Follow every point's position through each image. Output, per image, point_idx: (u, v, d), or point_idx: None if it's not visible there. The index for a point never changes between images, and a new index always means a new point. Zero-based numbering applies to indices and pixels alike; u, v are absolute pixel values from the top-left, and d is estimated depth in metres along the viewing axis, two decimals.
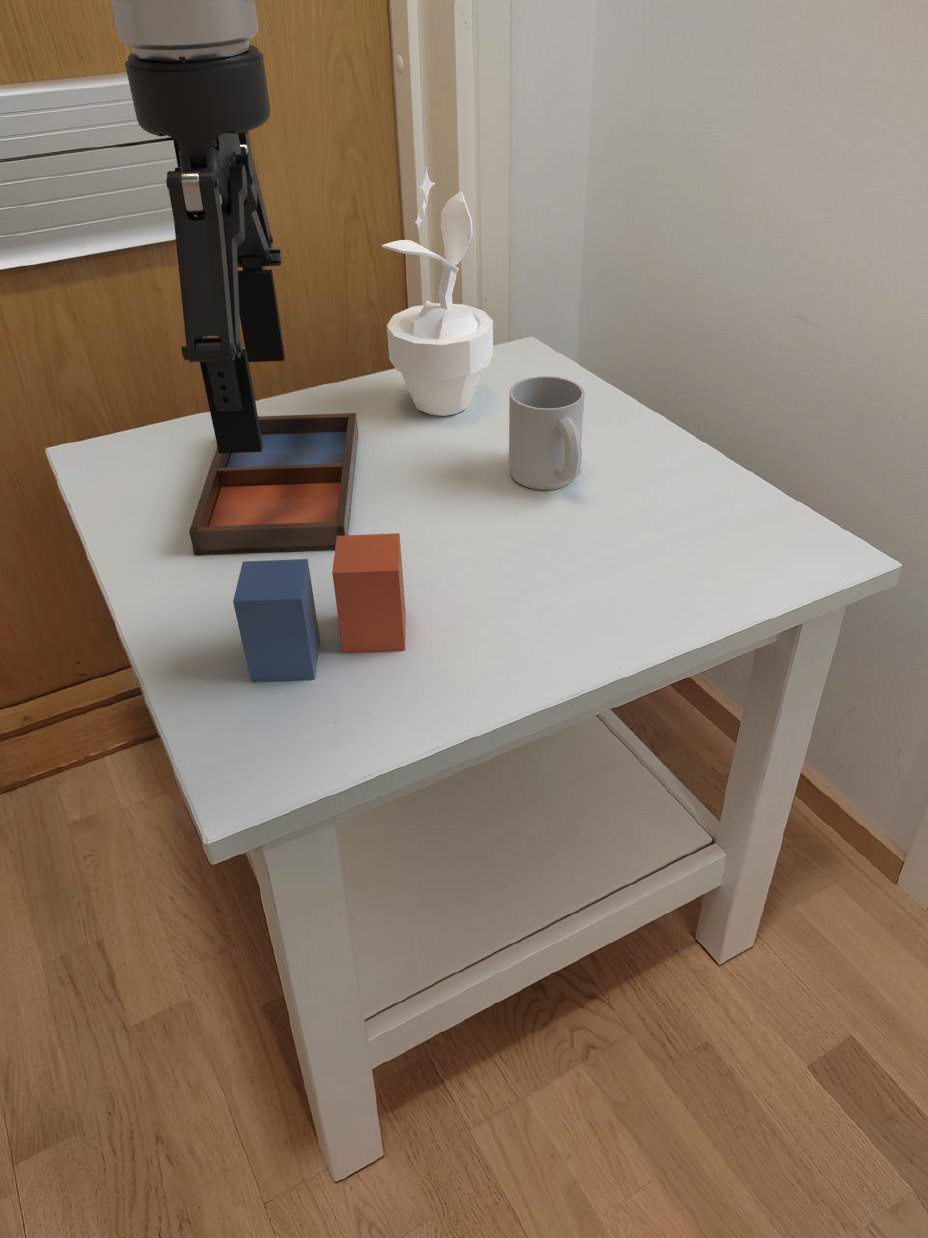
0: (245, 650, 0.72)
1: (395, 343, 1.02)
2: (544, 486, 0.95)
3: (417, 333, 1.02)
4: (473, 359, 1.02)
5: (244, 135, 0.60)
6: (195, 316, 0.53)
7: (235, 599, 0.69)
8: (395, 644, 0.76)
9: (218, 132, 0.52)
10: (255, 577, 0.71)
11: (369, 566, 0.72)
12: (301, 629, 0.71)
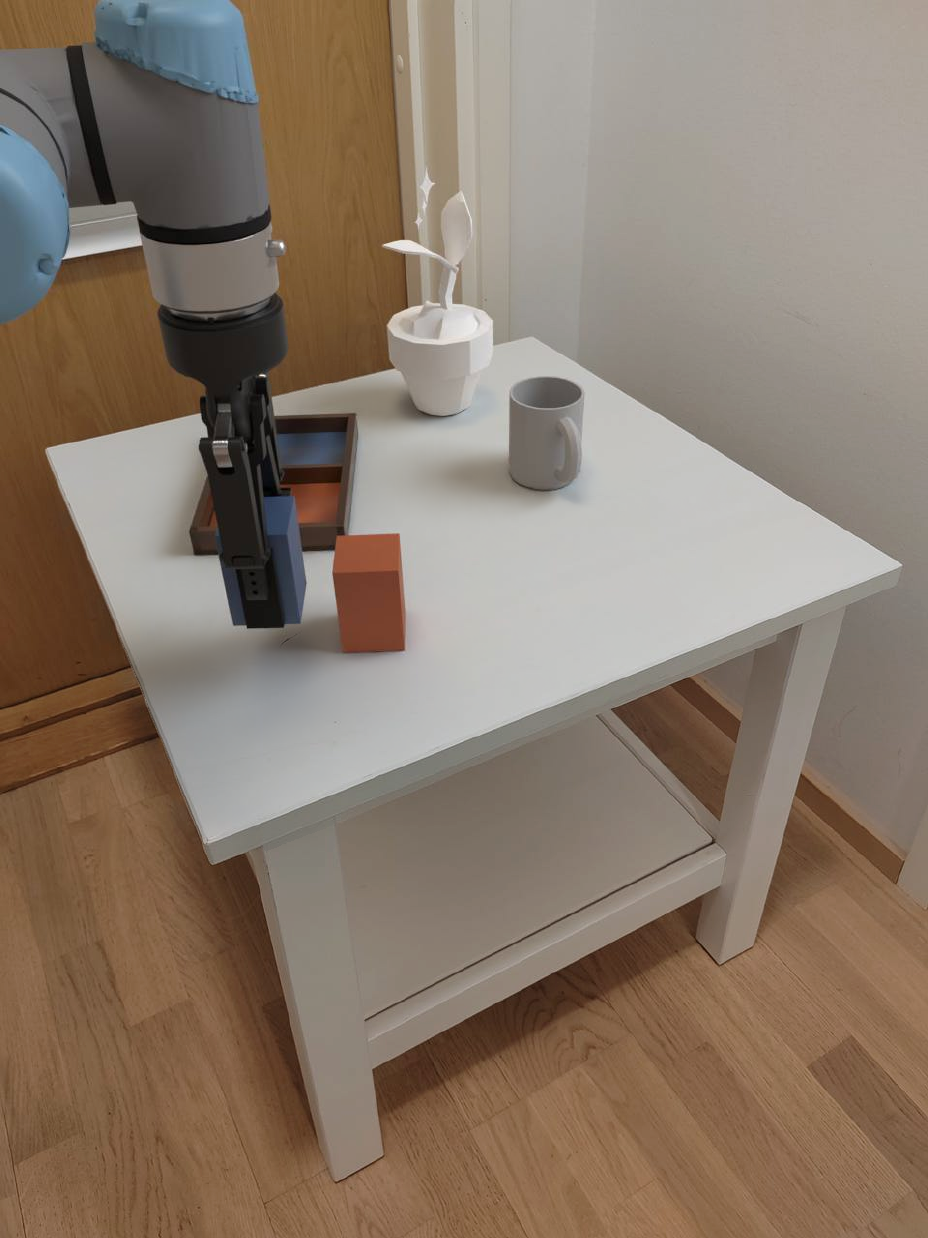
0: (227, 591, 0.68)
1: (395, 343, 1.02)
2: (544, 486, 0.95)
3: (417, 333, 1.02)
4: (473, 359, 1.02)
5: None
6: (231, 542, 0.61)
7: (217, 534, 0.66)
8: (395, 644, 0.76)
9: (241, 378, 0.57)
10: None
11: (369, 566, 0.72)
12: (286, 568, 0.67)
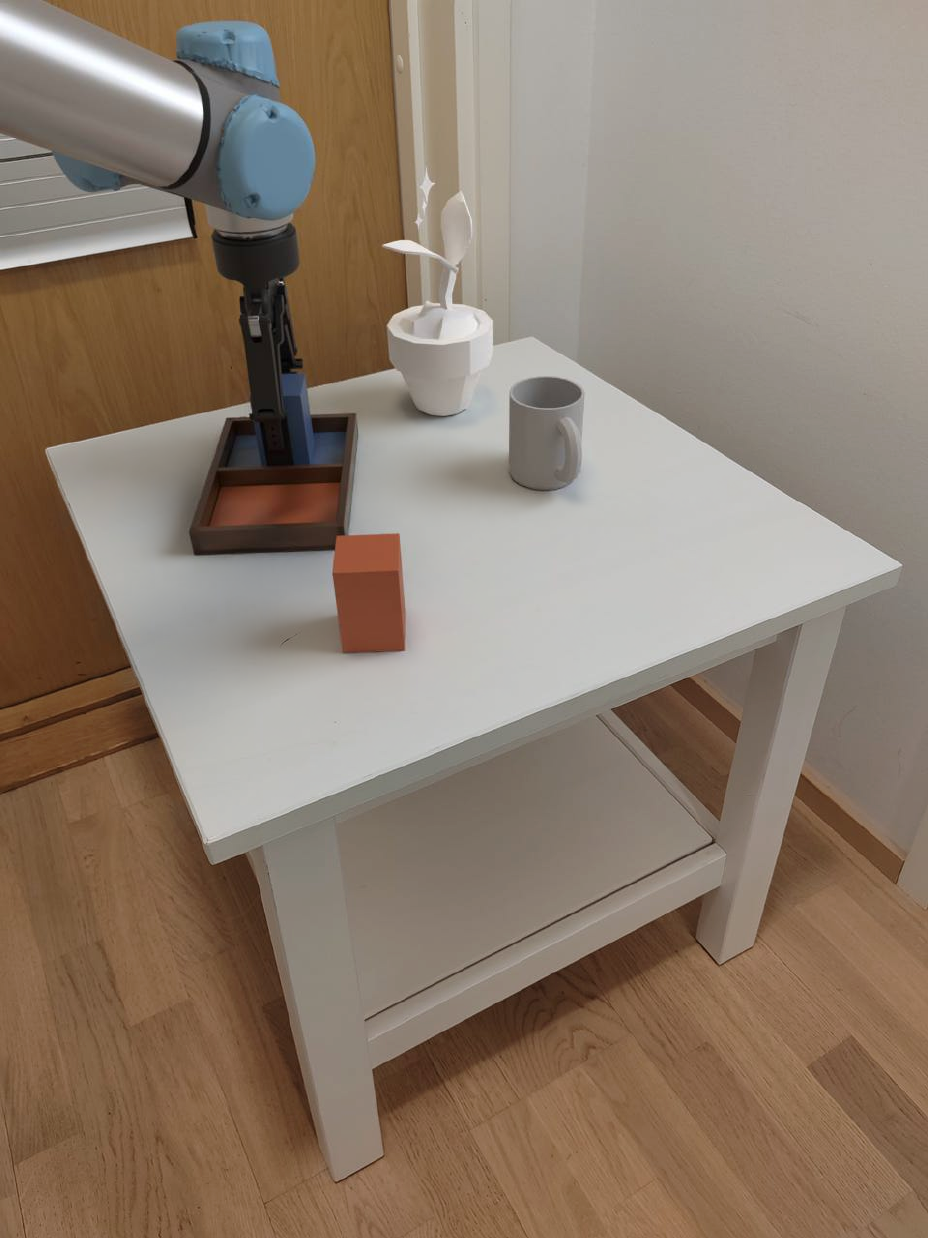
0: (258, 440, 0.96)
1: (395, 343, 1.02)
2: (544, 486, 0.95)
3: (417, 333, 1.02)
4: (473, 359, 1.02)
5: None
6: (258, 397, 0.87)
7: None
8: (395, 644, 0.76)
9: (268, 279, 0.85)
10: None
11: (369, 566, 0.72)
12: (300, 421, 0.95)
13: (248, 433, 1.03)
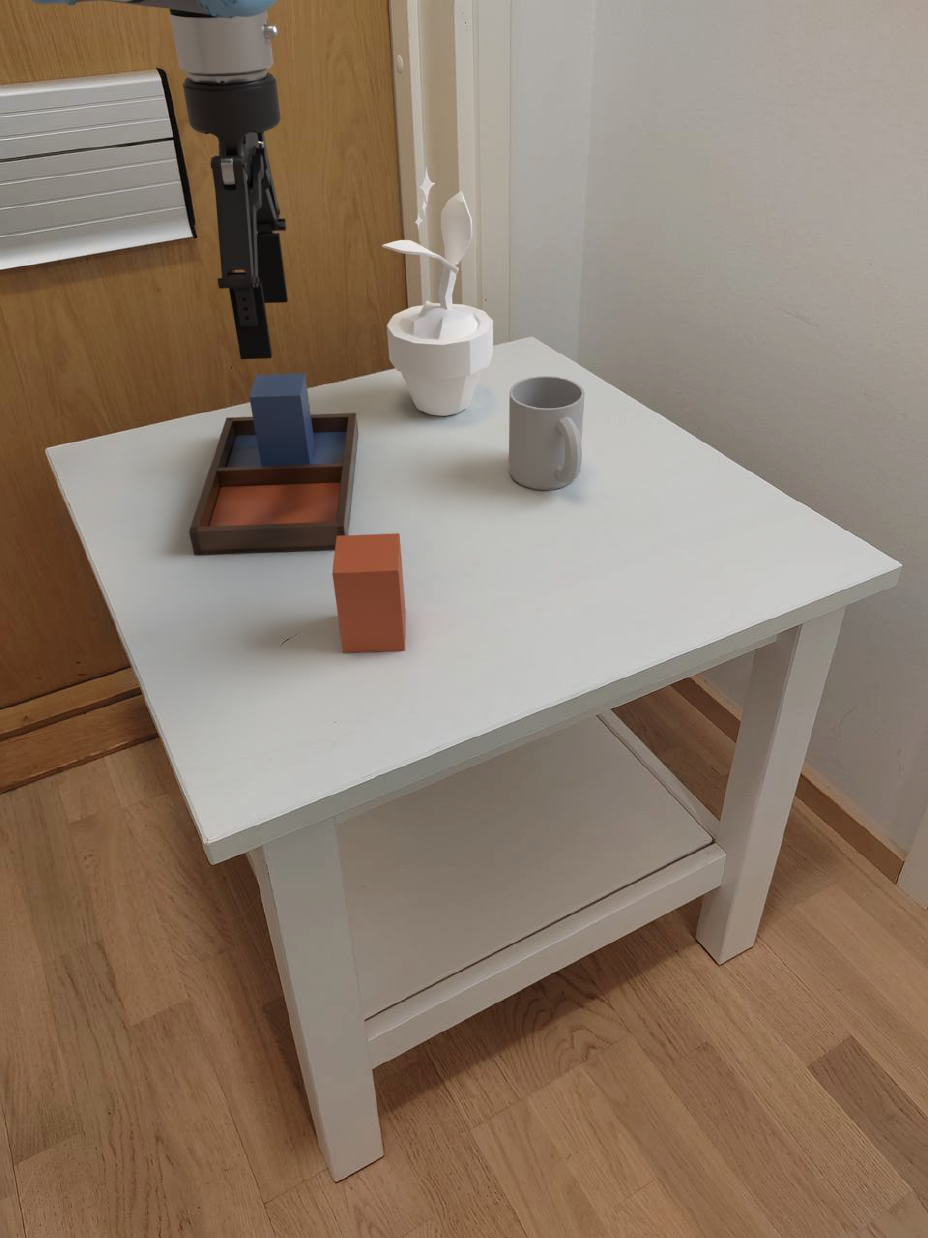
0: (258, 440, 0.96)
1: (395, 343, 1.02)
2: (544, 486, 0.95)
3: (417, 333, 1.02)
4: (473, 359, 1.02)
5: (261, 134, 0.85)
6: (228, 255, 0.77)
7: (251, 395, 0.93)
8: (395, 644, 0.76)
9: (245, 131, 0.77)
10: (265, 383, 0.95)
11: (369, 566, 0.72)
12: (300, 421, 0.95)
13: (248, 433, 1.03)
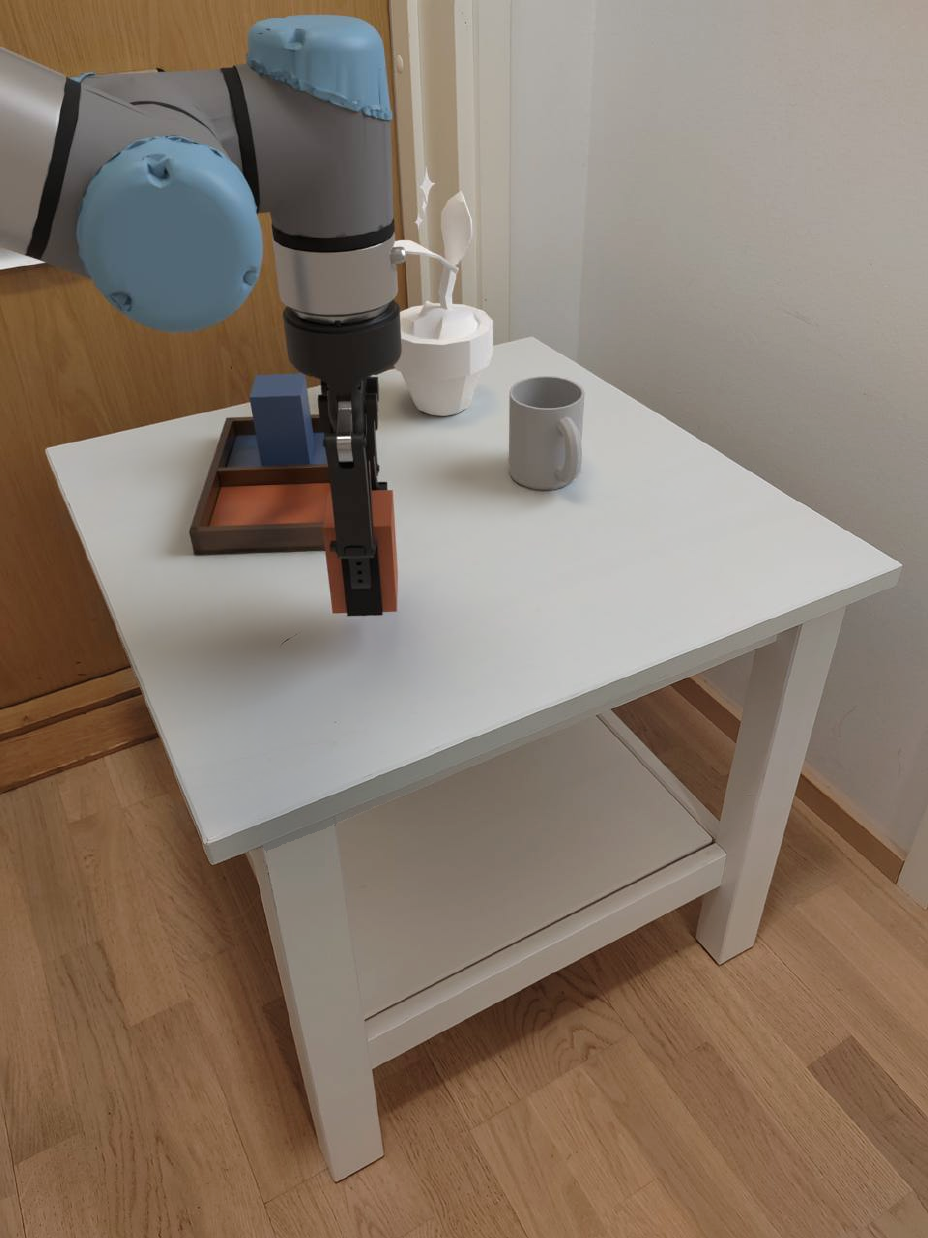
0: (258, 440, 0.96)
1: None
2: (544, 486, 0.95)
3: (417, 333, 1.02)
4: (473, 359, 1.02)
5: None
6: (345, 533, 0.65)
7: (251, 395, 0.93)
8: (387, 605, 0.74)
9: (362, 377, 0.61)
10: (265, 383, 0.95)
11: None
12: (300, 421, 0.95)
13: (248, 433, 1.03)
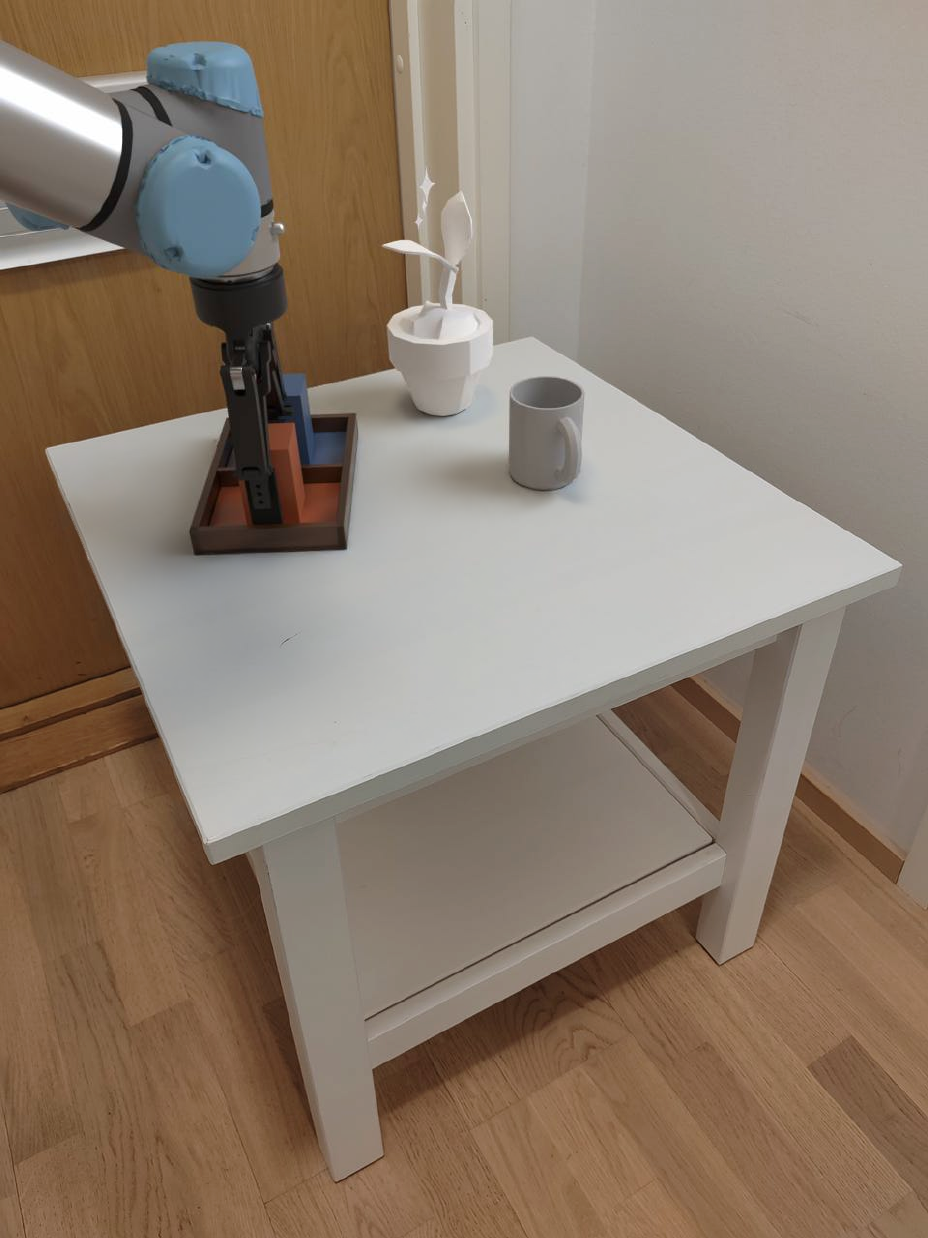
0: None
1: (395, 343, 1.02)
2: (544, 486, 0.95)
3: (417, 333, 1.02)
4: (473, 359, 1.02)
5: None
6: (242, 455, 0.79)
7: None
8: (291, 518, 0.89)
9: (252, 326, 0.76)
10: None
11: None
12: (300, 421, 0.95)
13: None
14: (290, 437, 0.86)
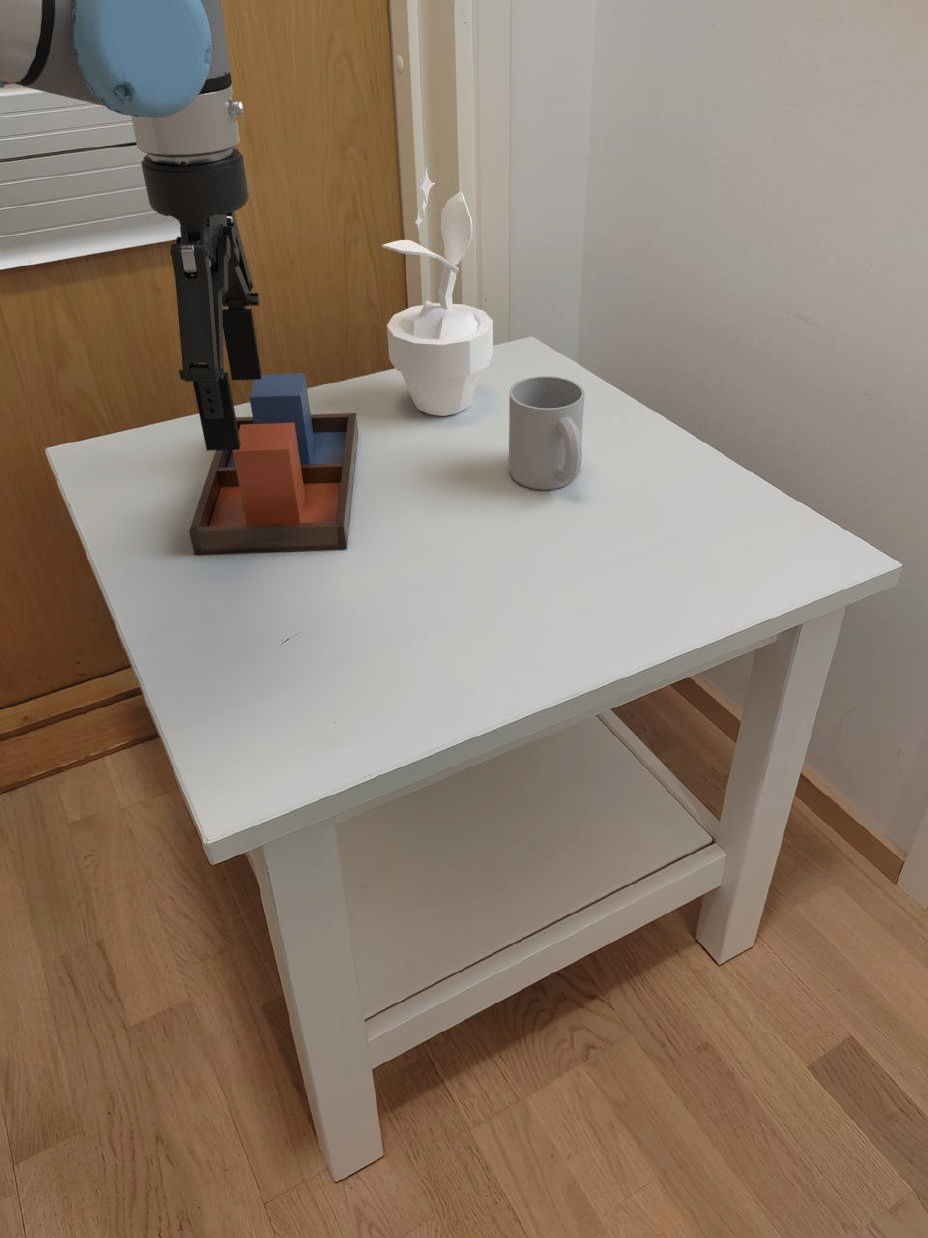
0: None
1: (395, 343, 1.02)
2: (544, 486, 0.95)
3: (417, 333, 1.02)
4: (473, 359, 1.02)
5: None
6: (189, 348, 0.71)
7: (251, 395, 0.93)
8: (291, 518, 0.89)
9: (209, 214, 0.71)
10: (265, 383, 0.95)
11: (264, 446, 0.85)
12: (300, 421, 0.95)
13: None
14: (290, 437, 0.86)
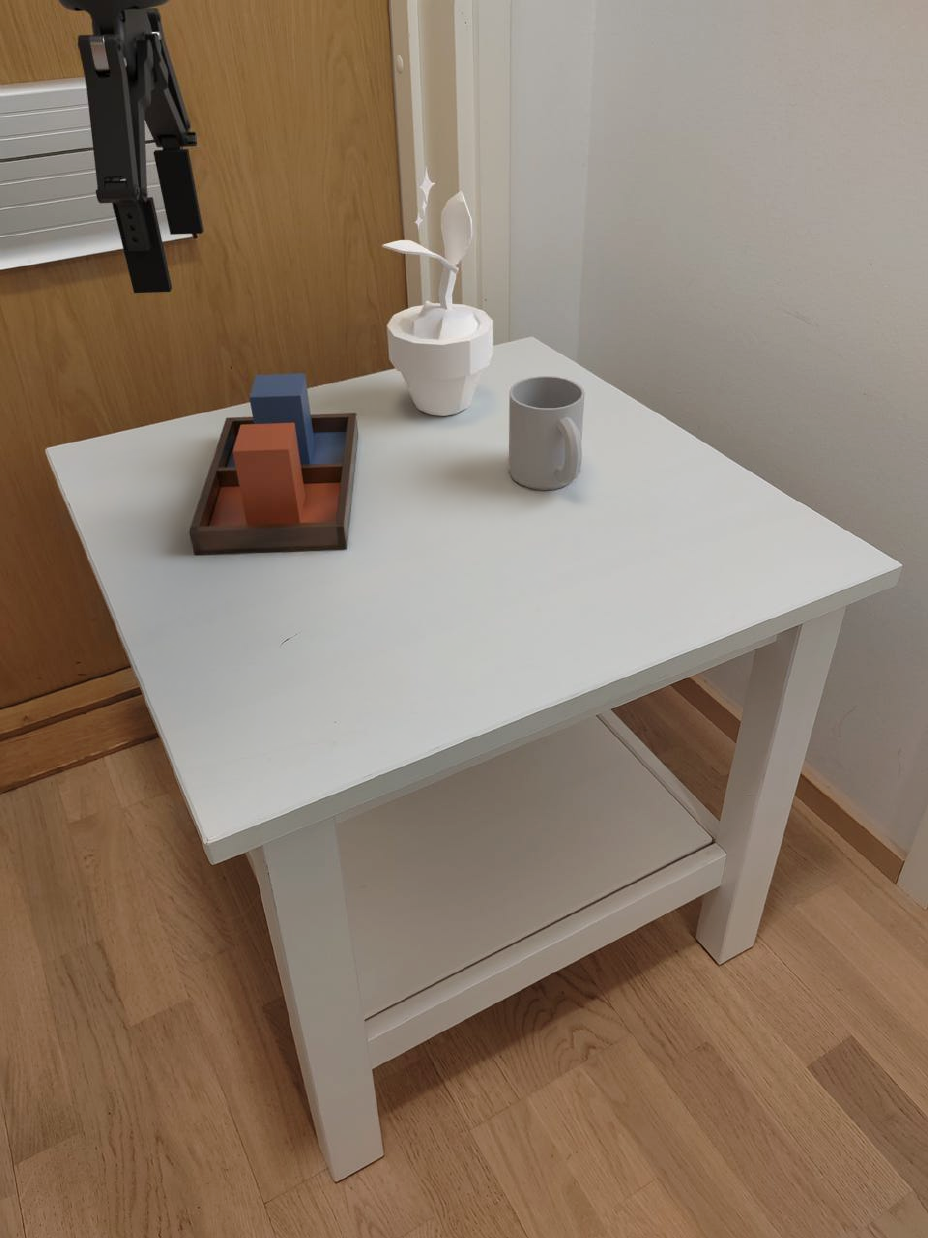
0: None
1: (395, 343, 1.02)
2: (544, 486, 0.95)
3: (417, 333, 1.02)
4: (473, 359, 1.02)
5: (156, 23, 0.71)
6: (104, 159, 0.63)
7: (251, 395, 0.93)
8: (291, 518, 0.89)
9: (123, 5, 0.63)
10: (265, 383, 0.95)
11: (264, 446, 0.85)
12: (300, 421, 0.95)
13: None
14: (290, 437, 0.86)
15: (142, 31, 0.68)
